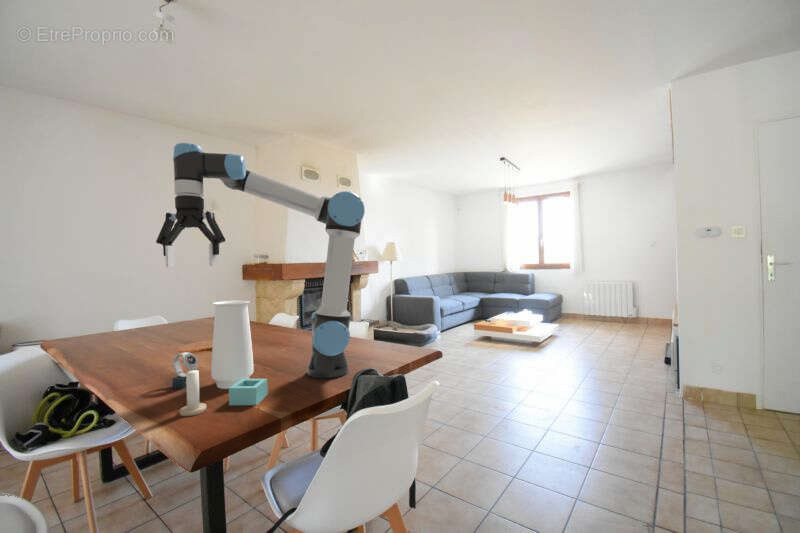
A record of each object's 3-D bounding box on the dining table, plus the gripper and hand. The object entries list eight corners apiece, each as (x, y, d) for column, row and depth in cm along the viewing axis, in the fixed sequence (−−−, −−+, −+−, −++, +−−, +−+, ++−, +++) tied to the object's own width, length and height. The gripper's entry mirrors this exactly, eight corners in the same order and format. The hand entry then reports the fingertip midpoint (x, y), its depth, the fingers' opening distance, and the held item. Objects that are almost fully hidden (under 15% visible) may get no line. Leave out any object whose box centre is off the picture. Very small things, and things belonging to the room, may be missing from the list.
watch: (188, 389, 114) (187, 355, 114) (168, 387, 116) (167, 354, 116) (201, 383, 120) (201, 351, 120) (182, 381, 122) (182, 350, 122)
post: (211, 406, 100) (210, 368, 100) (197, 416, 93) (196, 375, 93) (189, 406, 100) (188, 368, 100) (174, 416, 93) (173, 375, 93)
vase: (257, 376, 126) (255, 299, 126) (249, 388, 114) (247, 303, 113) (218, 379, 124) (216, 300, 123) (206, 392, 111) (204, 305, 111)
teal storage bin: (267, 394, 108) (267, 378, 108) (256, 405, 100) (256, 387, 100) (242, 394, 108) (242, 378, 108) (229, 405, 100) (228, 388, 100)
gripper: (235, 197, 108) (238, 265, 109) (159, 200, 110) (161, 267, 110) (222, 192, 101) (224, 265, 101) (140, 195, 102) (142, 267, 103)
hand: (191, 266), depth 106 cm, fingers open, 13 cm apart
